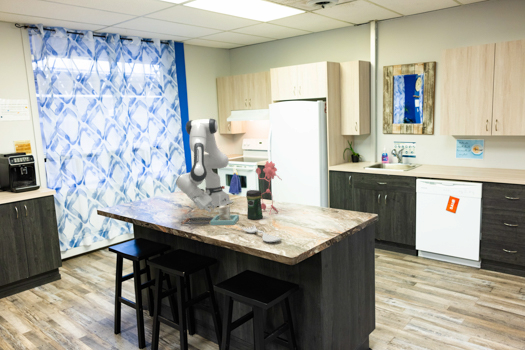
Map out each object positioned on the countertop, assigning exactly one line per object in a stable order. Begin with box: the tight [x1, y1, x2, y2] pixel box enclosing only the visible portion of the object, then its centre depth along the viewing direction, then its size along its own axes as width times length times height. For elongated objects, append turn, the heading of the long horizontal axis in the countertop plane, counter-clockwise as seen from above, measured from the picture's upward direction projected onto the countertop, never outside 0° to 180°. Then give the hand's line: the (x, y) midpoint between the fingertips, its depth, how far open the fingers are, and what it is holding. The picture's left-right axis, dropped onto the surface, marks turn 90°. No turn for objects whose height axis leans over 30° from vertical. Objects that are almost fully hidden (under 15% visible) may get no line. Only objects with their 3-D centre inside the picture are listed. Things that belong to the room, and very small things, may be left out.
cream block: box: [218, 205, 232, 221], centre depth 260 cm, size 6×5×10 cm
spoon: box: [240, 224, 282, 243], centre depth 225 cm, size 9×32×4 cm, turn 31°
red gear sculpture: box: [255, 160, 282, 215], centre depth 279 cm, size 15×26×35 cm, turn 41°
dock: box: [209, 214, 240, 226], centre depth 260 cm, size 15×15×2 cm
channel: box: [181, 216, 215, 225], centre depth 263 cm, size 18×12×2 cm
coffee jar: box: [245, 189, 264, 220], centre depth 264 cm, size 10×8×19 cm
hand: (212, 209), depth 260 cm, fingers open, 8 cm apart
